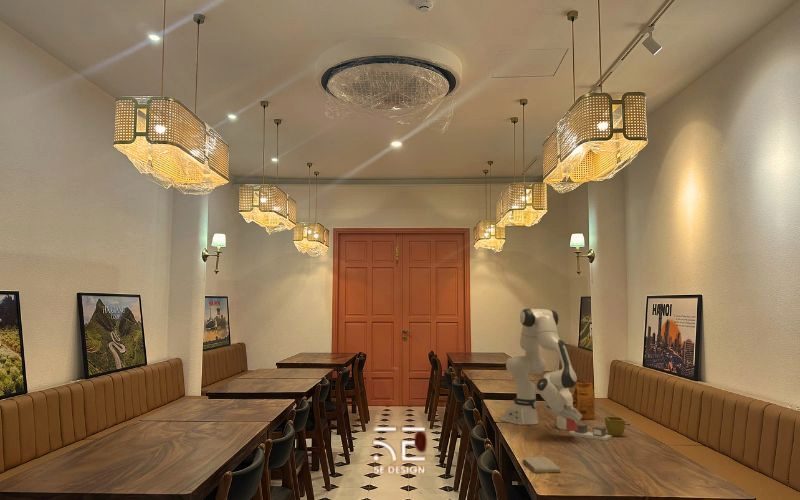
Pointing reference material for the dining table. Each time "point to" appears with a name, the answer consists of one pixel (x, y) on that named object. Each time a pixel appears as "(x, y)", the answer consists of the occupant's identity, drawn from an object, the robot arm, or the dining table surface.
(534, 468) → the washcloth
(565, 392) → the alcohol
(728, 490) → the dining table surface
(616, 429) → the flower pot
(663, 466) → the dining table surface
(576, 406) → the coffee package
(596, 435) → the grey cubes on base
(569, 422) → the tall red square pillar
